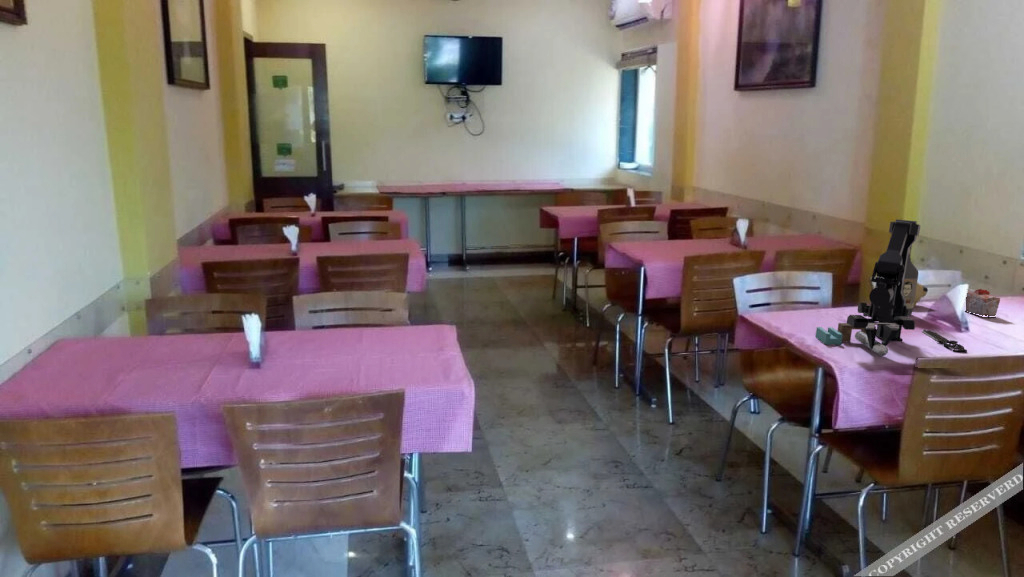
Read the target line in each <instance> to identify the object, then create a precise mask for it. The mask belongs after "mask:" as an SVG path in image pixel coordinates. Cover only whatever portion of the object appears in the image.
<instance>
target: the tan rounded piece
mask: <svg viewBox="0 0 1024 577" xmlns="http://www.w3.org/2000/svg"><path fill="white" fill-rule="evenodd" d="M928 291H929V290H928V288H927V287H926V286H925V285H924V284H920V283H919V282H918V281H917V286H916V293H915V299H914V305H913V308H914V307H916V306H917V303H919V302H920V301H921V299H922V298H924V297H925V296H926V295H927V293H928Z"/></svg>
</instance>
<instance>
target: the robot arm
mask: <svg viewBox="0 0 1024 577" xmlns="http://www.w3.org/2000/svg"><path fill="white" fill-rule="evenodd" d="M920 231H921V225H920V224H918V221H916V220H907V219H906V220H905V219H897V218H896V219H895V221H890V222H889V229H888V233H889V234H890V239H889V242H888V245H887V247H886V251H885V252H883V253H882V254H880V255H879V258H878V259H877V260H878V261H875V264H874V267H873V270H872V274H871V279H870V282H872V283H875V287H874V288H872V290H870V292H869V296H868V297H869V301H870V305H869V304H867V302H859V303H858V305H857V313H859V314H849V315H848V316H847V319H846V323H848V324H849V325H851V326H852V327H854V328H864V330H865V332H866V334H867V338H868V342H869V346H870V348H871V349H873V346H874V342H875V340H876V337H878V338H879V339H881V344H883V345H884V346H886V347H887V346H888V345H889V343H890V342H891V341H899V342H901V341H902V342H903V338H902V337H901V333H902V329H904V330H907V331H908V330H915V329H916V322H915V320H914V319H912V318H911V317H909V316H908V309H907V306H905V304H906V299H905V297H904V295H903V293H902V289H903V283H904V277H905V271H906V265H907V259H908V253H909V248H910V246H911V245H912V246H913V244H914V243H915V242H916V241H917V237H919V236H920V233H921V232H920ZM875 326H876V329H875ZM870 348H869V349H870ZM871 349H870V350H871Z"/></svg>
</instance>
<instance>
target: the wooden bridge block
mask: <svg viewBox="0 0 1024 577" xmlns="http://www.w3.org/2000/svg"><path fill="white" fill-rule="evenodd" d="M837 325H838V326H837V331H838V332H840V333H841V334H843V335H842V342H851V338H852V332H853V330H859V331H862V332H864V333H866V332H865V330H864V328H854V327H852V326H851V325H849V324H848V323H847V322H838V324H837ZM875 329H877V325H875Z"/></svg>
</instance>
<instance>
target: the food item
mask: <svg viewBox="0 0 1024 577" xmlns="http://www.w3.org/2000/svg"><path fill="white" fill-rule="evenodd" d="M967 290H968V293H967V297H966V311H968V312H971V313H975V314H979V315H982V316H983V315H985V316H987V315H988V316H995V315H996V316H997V312H998V309H999V305H1000V303H1001V302H1000V301H1001V298H1000V297H997V296H994V295H990V291H988V289H982V288H980V289H972V288H969V289H967ZM966 311H965V312H966ZM968 312H967V313H968Z"/></svg>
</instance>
